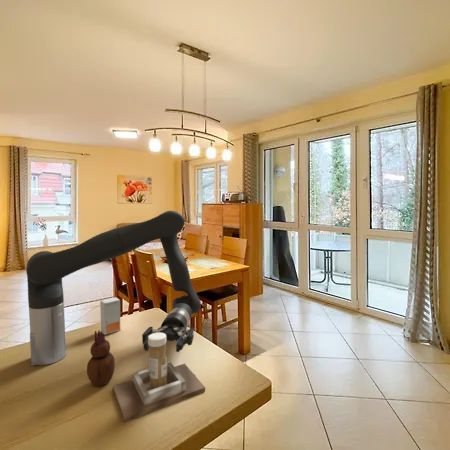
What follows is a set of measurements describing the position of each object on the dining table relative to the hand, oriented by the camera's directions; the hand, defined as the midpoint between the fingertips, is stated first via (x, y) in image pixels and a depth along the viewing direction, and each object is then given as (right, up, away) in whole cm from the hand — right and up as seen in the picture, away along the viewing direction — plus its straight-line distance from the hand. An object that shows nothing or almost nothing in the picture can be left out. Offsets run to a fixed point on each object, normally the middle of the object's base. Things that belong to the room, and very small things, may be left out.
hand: (161, 348), depth 78 cm
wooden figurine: (-16, -10, +1) cm, 19 cm away
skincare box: (-26, -7, +32) cm, 42 cm away
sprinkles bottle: (0, -9, -3) cm, 9 cm away
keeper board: (0, -10, -3) cm, 10 cm away
